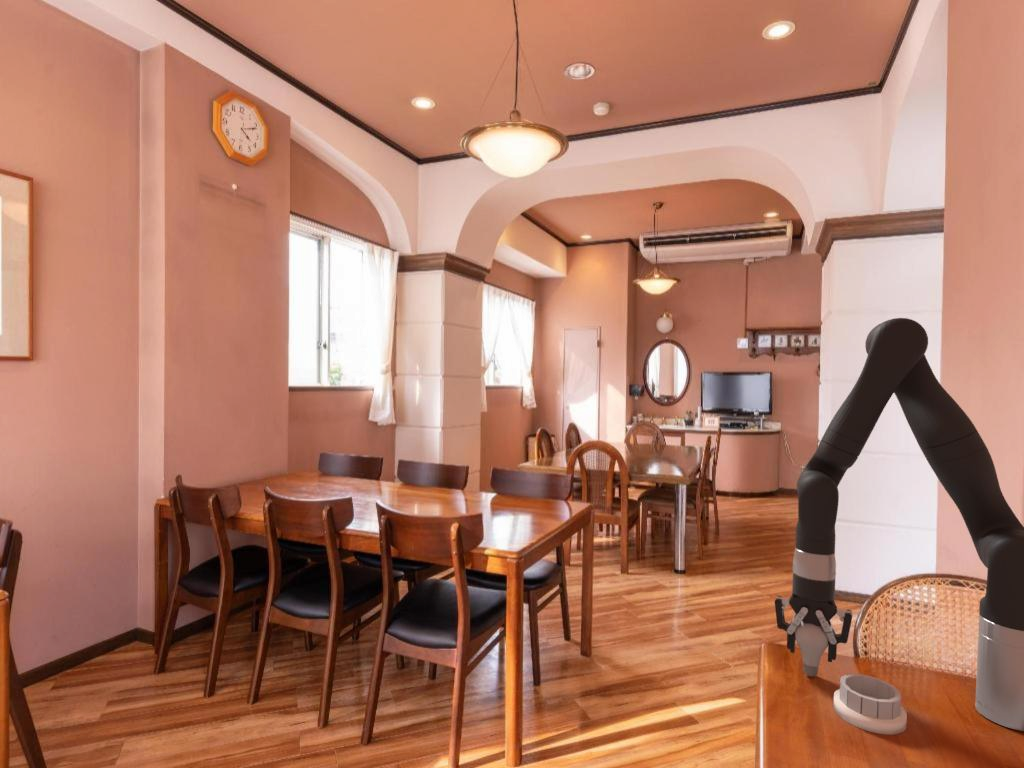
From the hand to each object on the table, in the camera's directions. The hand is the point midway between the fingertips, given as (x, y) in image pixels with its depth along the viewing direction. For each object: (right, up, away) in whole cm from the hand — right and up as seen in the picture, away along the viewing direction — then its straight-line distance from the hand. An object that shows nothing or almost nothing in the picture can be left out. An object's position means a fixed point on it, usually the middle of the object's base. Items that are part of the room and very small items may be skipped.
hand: (810, 655), depth 117 cm
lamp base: (+4, -4, -13) cm, 14 cm away
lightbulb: (0, -4, 0) cm, 4 cm away
